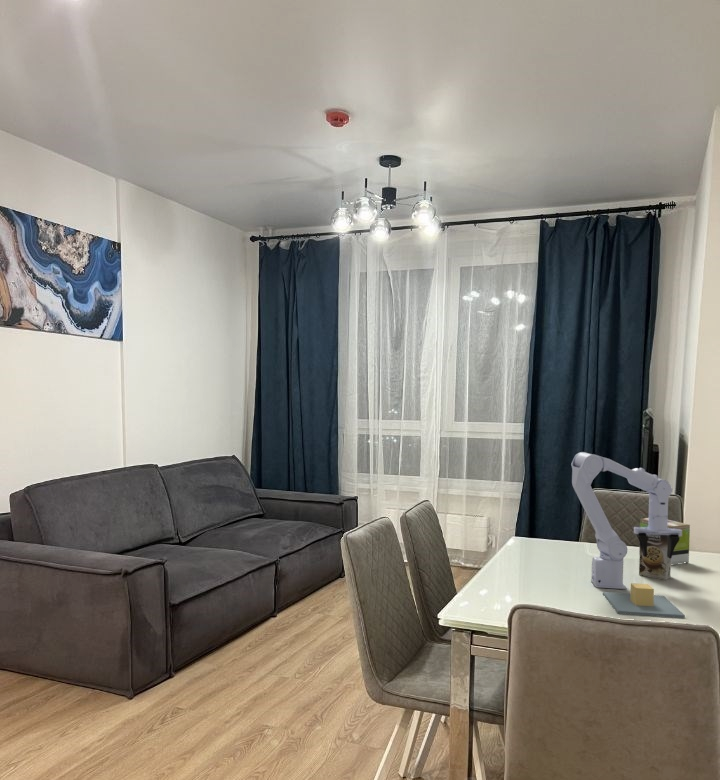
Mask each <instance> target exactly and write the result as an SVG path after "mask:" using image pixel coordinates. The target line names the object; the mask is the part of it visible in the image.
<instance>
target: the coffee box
mask: <svg viewBox="0 0 720 780" xmlns="http://www.w3.org/2000/svg"><path fill="white" fill-rule="evenodd" d="M652 533H655V532H652ZM646 535H647V537H648V542H647V557H644V556H643V553H642V548H641V545H640V555H639V561H638V562H639V564H638V565H639V566H638V576H642V575H643V577H647V576H648V578H651V579H652V578H653V579H659V580H664V581H667V580H668V579H670V578H671V573H672V571H671V568H672V567H671V566H672V565H671V558H668V557H667V548H668V544H667V535H654V534H646Z"/></svg>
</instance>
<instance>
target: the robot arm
mask: <svg viewBox="0 0 720 780" xmlns="http://www.w3.org/2000/svg"><path fill="white" fill-rule="evenodd" d="M570 465H571V469H572V472H571V484H572V487H573V490H574V492H575V494H576V495H577V498H578V500H579V501H580V504H581V506H582V508H583V510H584V511H585V514H586V515H587V518H588V520H589V522H590V523H591V526H592V528H593V530H594V531H595V534H594V537H595V540H596V547H597V549H598V551H599V556H593V557H592V561H591V579H590V581H591V582H592V584H593V585H594V587H596V588H601V589H602V588H603V589H621V590H627V588H628V587H627V586H626V585H625V584H624V558H626V555H627V554H628V545H627V544H626V543H625V542H624V541H623V540H622V539H620V537H619V535H618V533H616V531H615V530H614V529H613V528H612V526H611V523H610V522H609V519H608V518H607V515H606V514H605V512H604V510H603V508H602V506H601V504H600V502H599V499H598V498H597V496H596V493H595V491H594V490H593V488H592V486H591V485H592V483H593V480H594V479H595V478H596V477H597V476H598V475H599V473H600V472H607V471H608V472H611V473H612V474H615V475H617V476H621V477H623V478H626V479H627V482H628V484H630V485H631V486H634V487H636V488H638V489H639V490H640V489H641V490H643V491H645V492H647V494H648V518H649V519H648V527H640V526H633V534H635V535H636V537H637V539H638V542H639V543H640V545H641V548H642V553H643V556H644V557H647V542H648V537H647V535H646V534H654V535H667V544H668V548H667V557H668V558H672V554H673V551H674V548H675V546H676V545H677V543H678V541H679V539H680V538H679V537H678V536H682V530H680V529H671V528H667V525H668V520H669V517H668V516H669V499H670V496H671V495H672V493H673V488H672V486H671V485H672V484H670V482H669V481H668V480H666V479H662V478H659V477H658V475H657V474H652V473H649V472H647V471H646V469H644V468H643V467H639V468H638V467H635V468H632V469H630V468H628V467H626V466H624V465H622V464H620V463H618V462H616V461H614V460H612V459H610V458H607V457H603V456H600V455H598V454H594V453H593V454H592V453H588V452H585V451H581V452H578V453H576V454H575V455H574V457H573V459H572V461H571V464H570ZM652 532H655V533H652Z"/></svg>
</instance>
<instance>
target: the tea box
mask: <svg viewBox="0 0 720 780" xmlns="http://www.w3.org/2000/svg"><path fill="white" fill-rule="evenodd" d="M648 519H649V517H645V518H640V519H639V527H648ZM690 526H691V524H688V523H684V522H680V521H675V520H673V519H672V520H671V519H668V525H667V528H671V529H680V530H682V536H678V537H679V538H680V539H679V541H678V543H677V545H676V546H675V548H674V551H673V554H672V558H671V564H676V565H679V564H678V563H684V562H688V563H690V562H689V560H690V535H691V534H690V532H691V530H690V528H691V527H690ZM638 546H639V547H638V548H639V553H638V554H639V556H640V542H639V545H638ZM684 564H685V563H684Z"/></svg>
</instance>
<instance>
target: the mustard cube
mask: <svg viewBox="0 0 720 780" xmlns="http://www.w3.org/2000/svg"><path fill="white" fill-rule="evenodd" d="M654 591H655V589H654V588H653V587H652V586H651V585H650V584H649V583H638V582H637V583H635V582H633V583H632V582H631V583H630V594H631V597H630V600H631V601H632V602H633V603H634V604H635V605H641V606H653V603H654V595H655V594H654Z"/></svg>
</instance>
